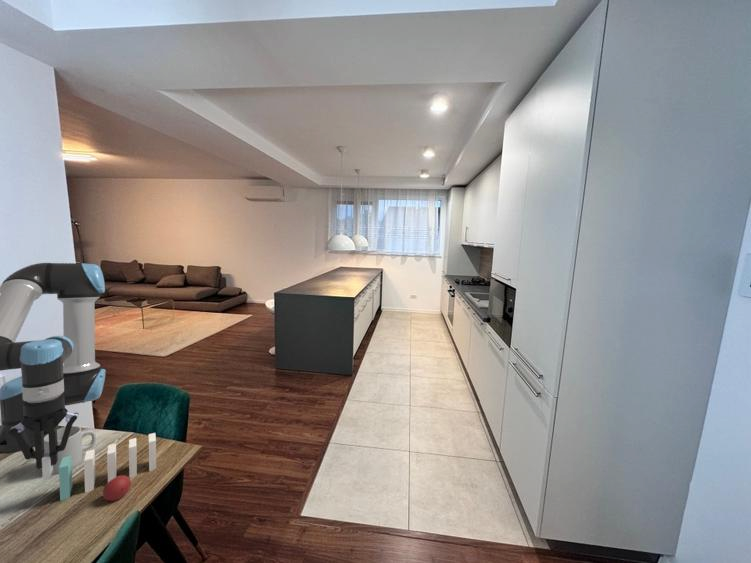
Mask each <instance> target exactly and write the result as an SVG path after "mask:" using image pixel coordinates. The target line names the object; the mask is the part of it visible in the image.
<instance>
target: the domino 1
mask: <svg viewBox="0 0 751 563" xmlns="http://www.w3.org/2000/svg"><path fill="white" fill-rule="evenodd" d="M58 475H59V476H58V477H59V479H58V480H59V498H60V499H59V501H64V500H68V499H70V497H71V494H72V490H73V468H72V461H71V456H67V457H64V458H62V461H61V464H60V466H59V474H58Z"/></svg>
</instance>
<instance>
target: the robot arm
mask: <svg viewBox="0 0 751 563" xmlns="http://www.w3.org/2000/svg"><path fill="white" fill-rule="evenodd" d="M105 286H106V285H105V278H104V274H103V271H102V269H101V266H99V265H98V264H93V263H83V262H82V263H76V262H75V263H73V262H72V263H71V262H69V263H68V262H65V263H64V262H61V263H60V262H59V263H58V262H40V263H38V262H37V263H34V264H30V265H27V266H24V267H22V268H20V269H18V270H16V271H15V272H13V273H12V274H10V275H8V277H6V278H5V279H4V280H3V281H2V283H1V285H0V371H8V370H18V369H21V370H20V373H21V376H19V377H16V378H12V379H10V380H9V381H7V382H5V383H4V384H2V385H1V387H0V421H1V425H0V453H13V452H19V451H21V453H22V455H23V456H24V459H25V460H31V459H35V461H36V462H35V464H36V469H37V470H41V471H42V481H46V480H50V479H52V476H53V475H54V474H53V465H56V463H57V461H58V452H59V451H63V450H64V449H65V447H66V444H67V441H68V438H69V435H70V431H71V428H72V426H73V425H74V423H75V422H76V421H77V419H78V416H79V413H78V412H74V413H73V412H68V409H67V408H66V406H71V405H76V404H77V405H78V404H85V403H88V402H92V401H95V400H98V399H100V397H101V395H102V392H103V390H104V384H105V379H106V373H107V372H106V369H104V368H101V364H100V363H98V362H96V341H95V340H96V329H95V328H96V326H95V324H96V321H95V317H96V316H95V313H96V312H95V303H96V301H97V300H99V299H100V296H101V295H100V294H104V293H105V291H106V287H105ZM42 295H56V297H57V300H58V301H60V302H62V308H63V311H62V312H63V313H62V314H63V319H62V320H63V334H62V335H54V336H50V337H46V338H44V339H37V340H28V341H17V338H18V336H19V334H20V332H21V329H22V327H23V326H24V323H25V321H26V320H27V317H28V315H29V313H30V311H31V308H32V306H33V304H34V302H35V301H36V300H38V299H39V298H41V296H42ZM64 419H65V422H66V425H65V427H64V428H65V431H64V434H63V437H62V441H61V444H60V445H58V441H57V430H58V429H60V428H59V427H60V425H59V424H60V423H61V422H62V421H63V420H64ZM48 434H49V452H47V453H44V451H45V450H44V437H45V436H46V435H48ZM52 474H53V475H52Z"/></svg>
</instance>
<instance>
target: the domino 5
mask: <svg viewBox="0 0 751 563" xmlns="http://www.w3.org/2000/svg"><path fill="white" fill-rule="evenodd" d="M156 436H157V435H156V432H153V433H148V469H149V470H148V471H149V472H151V471H154V470H156V469H157V439H156V438H157V437H156Z"/></svg>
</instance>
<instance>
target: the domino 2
mask: <svg viewBox="0 0 751 563" xmlns="http://www.w3.org/2000/svg"><path fill="white" fill-rule="evenodd" d="M95 453H96V452H95V448H94V449H90V450H89V449H88V450H86V452H85V456H84V460H83V469H84V470H83V471H84V493H87V492H91V491H94V488H95V483H96V454H95Z"/></svg>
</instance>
